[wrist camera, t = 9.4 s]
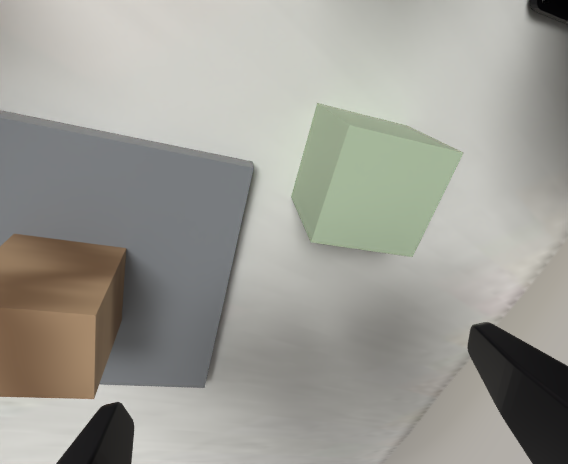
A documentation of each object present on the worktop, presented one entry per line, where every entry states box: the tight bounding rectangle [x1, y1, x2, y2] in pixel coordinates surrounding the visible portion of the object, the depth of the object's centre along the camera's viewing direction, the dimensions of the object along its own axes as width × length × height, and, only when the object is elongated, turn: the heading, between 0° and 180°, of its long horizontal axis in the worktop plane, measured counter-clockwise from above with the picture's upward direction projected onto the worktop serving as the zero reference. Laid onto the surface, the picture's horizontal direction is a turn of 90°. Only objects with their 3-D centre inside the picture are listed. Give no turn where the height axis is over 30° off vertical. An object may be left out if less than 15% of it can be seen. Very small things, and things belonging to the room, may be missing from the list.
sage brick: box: [291, 103, 463, 257], centre depth 16 cm, size 5×5×5 cm
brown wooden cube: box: [0, 234, 126, 399], centre depth 16 cm, size 5×5×5 cm
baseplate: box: [0, 111, 254, 388], centre depth 19 cm, size 16×16×1 cm
